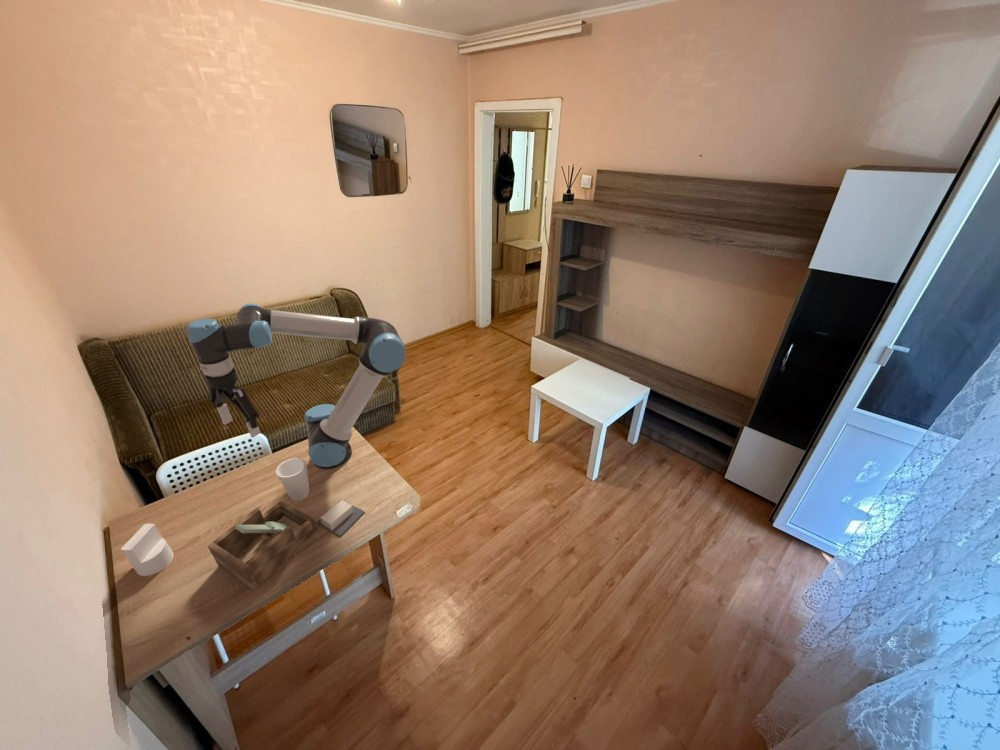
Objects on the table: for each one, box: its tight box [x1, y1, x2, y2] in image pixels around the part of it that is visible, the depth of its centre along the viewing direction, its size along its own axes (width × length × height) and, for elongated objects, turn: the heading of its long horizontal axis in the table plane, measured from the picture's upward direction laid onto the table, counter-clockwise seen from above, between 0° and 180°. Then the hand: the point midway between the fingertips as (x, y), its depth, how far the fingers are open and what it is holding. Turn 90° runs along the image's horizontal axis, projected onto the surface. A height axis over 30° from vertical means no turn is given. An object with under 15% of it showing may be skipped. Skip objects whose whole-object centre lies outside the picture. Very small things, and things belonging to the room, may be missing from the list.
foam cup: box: [275, 457, 310, 502], centre depth 143 cm, size 10×9×13 cm
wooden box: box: [207, 500, 319, 591], centre depth 125 cm, size 23×16×10 cm
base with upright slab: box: [120, 522, 175, 577], centre depth 120 cm, size 9×9×12 cm
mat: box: [315, 499, 366, 537], centre depth 138 cm, size 11×11×1 cm
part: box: [319, 499, 354, 530], centre depth 136 cm, size 9×5×3 cm, turn 149°
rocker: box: [235, 521, 297, 535], centre depth 125 cm, size 19×9×2 cm
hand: (241, 428), depth 130 cm, fingers open, 13 cm apart
